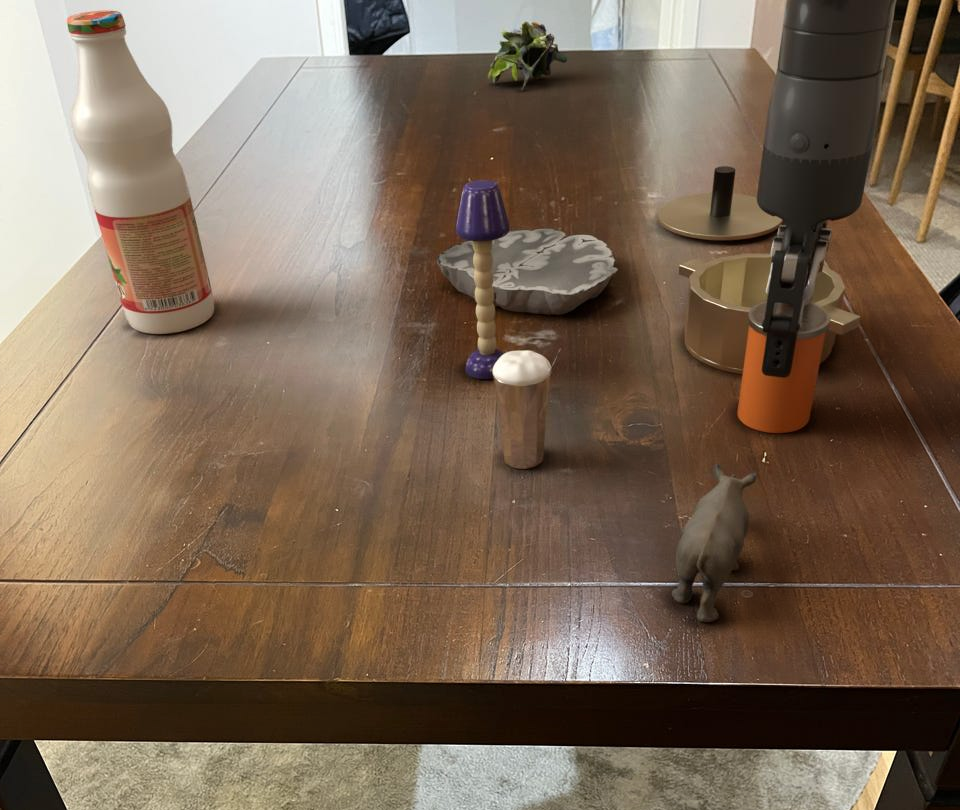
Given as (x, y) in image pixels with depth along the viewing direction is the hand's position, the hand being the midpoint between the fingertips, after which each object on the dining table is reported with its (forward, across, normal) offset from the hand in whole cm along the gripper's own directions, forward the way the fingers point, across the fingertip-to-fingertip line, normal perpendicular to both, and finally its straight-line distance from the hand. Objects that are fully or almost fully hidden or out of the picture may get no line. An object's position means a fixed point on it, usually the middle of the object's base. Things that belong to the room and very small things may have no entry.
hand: (784, 351), depth 83 cm
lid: (+5, +45, +14) cm, 47 cm away
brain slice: (+6, +21, +29) cm, 37 cm away
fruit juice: (+6, +3, +64) cm, 64 cm away
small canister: (+6, 0, 0) cm, 6 cm away
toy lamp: (+6, +2, +27) cm, 28 cm away
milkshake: (+6, -13, +18) cm, 23 cm away
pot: (+6, +14, +4) cm, 15 cm away
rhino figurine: (+6, -22, +1) cm, 23 cm away
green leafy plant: (+6, +103, +58) cm, 118 cm away
